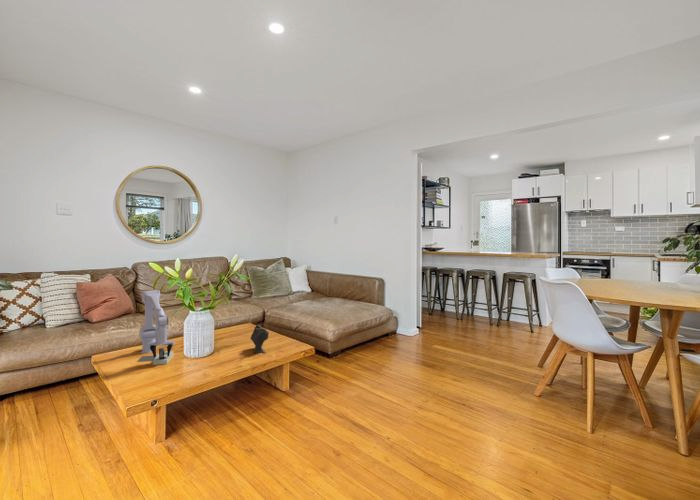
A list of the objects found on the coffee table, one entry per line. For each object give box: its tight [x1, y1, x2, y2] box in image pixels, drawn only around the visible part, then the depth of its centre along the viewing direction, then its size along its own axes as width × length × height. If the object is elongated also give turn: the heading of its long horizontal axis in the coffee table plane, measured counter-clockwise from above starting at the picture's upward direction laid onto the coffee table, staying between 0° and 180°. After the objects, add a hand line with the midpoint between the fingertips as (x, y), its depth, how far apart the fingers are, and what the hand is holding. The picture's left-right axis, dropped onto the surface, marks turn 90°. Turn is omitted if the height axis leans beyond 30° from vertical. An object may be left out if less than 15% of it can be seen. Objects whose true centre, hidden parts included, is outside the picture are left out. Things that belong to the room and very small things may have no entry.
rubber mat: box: [136, 354, 158, 363], centre depth 216 cm, size 10×10×1 cm
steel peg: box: [158, 347, 165, 359], centre depth 211 cm, size 3×3×9 cm
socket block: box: [152, 350, 174, 366], centre depth 215 cm, size 16×8×3 cm, turn 15°
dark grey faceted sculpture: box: [250, 324, 270, 355], centre depth 239 cm, size 14×15×18 cm
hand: (161, 356), depth 211 cm, fingers open, 7 cm apart
